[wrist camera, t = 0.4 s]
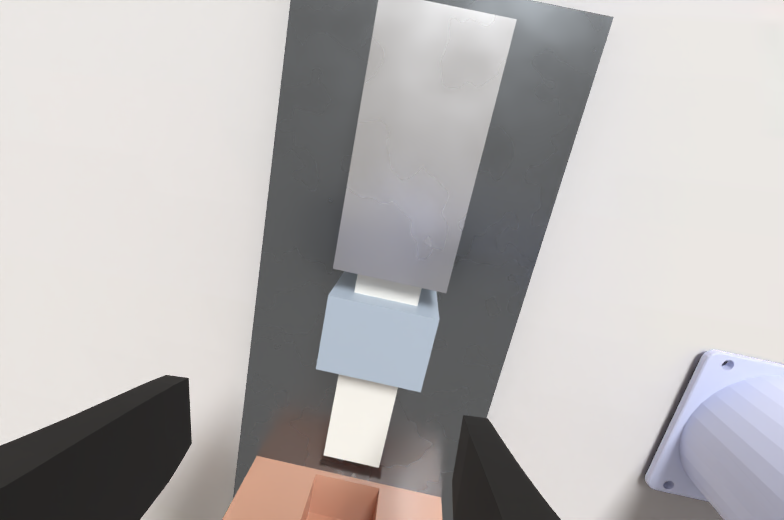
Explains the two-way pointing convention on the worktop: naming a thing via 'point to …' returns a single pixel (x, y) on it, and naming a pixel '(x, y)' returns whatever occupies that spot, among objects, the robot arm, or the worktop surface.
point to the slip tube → (373, 358)
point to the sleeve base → (410, 206)
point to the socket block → (323, 496)
